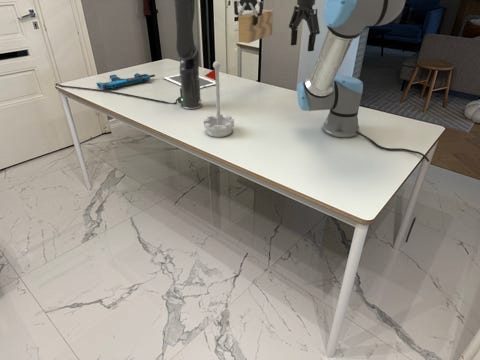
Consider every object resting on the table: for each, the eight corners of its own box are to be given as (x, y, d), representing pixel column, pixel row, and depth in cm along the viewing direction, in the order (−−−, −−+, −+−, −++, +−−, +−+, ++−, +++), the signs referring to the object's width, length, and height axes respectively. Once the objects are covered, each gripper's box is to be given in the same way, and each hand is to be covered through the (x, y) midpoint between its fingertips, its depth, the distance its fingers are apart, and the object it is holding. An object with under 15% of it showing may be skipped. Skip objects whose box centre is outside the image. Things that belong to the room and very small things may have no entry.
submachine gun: (140, 68, 226) (159, 74, 209) (142, 73, 228) (160, 80, 211) (89, 77, 207) (104, 85, 190) (90, 84, 209) (106, 92, 192)
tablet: (163, 78, 216) (163, 77, 215) (189, 72, 227) (189, 71, 226) (191, 90, 195) (191, 90, 195) (219, 83, 206) (219, 83, 206)
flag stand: (228, 123, 156) (226, 56, 140) (238, 135, 146) (237, 63, 130) (200, 127, 152) (195, 59, 136) (209, 140, 142) (205, 67, 126)
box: (262, 33, 187) (263, 9, 181) (272, 34, 185) (273, 10, 178) (238, 41, 169) (238, 15, 162) (248, 43, 166) (249, 16, 160)
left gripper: (231, -14, 156) (232, 25, 165) (262, -14, 153) (261, 26, 162) (235, -15, 162) (235, 23, 171) (265, -15, 159) (263, 24, 168)
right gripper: (283, -8, 150) (280, 43, 161) (317, -3, 131) (311, 54, 142) (297, -8, 152) (293, 42, 164) (332, -4, 133) (325, 52, 145)
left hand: (248, 24), depth 166 cm, fingers closed on box, 7 cm apart
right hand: (301, 48), depth 153 cm, fingers open, 13 cm apart
